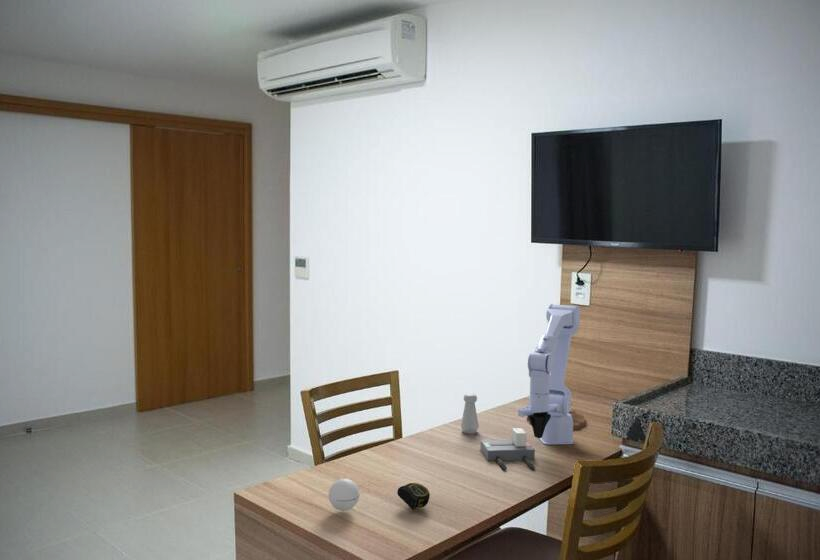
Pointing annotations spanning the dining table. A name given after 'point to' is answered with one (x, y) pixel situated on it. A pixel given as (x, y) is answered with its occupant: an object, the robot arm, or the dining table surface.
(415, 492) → the tape measure
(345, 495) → the white oval body
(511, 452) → the breaker block
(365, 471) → the dining table surface
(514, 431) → the breaker handle
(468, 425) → the salt shaker
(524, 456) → the dressed cords
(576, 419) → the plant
